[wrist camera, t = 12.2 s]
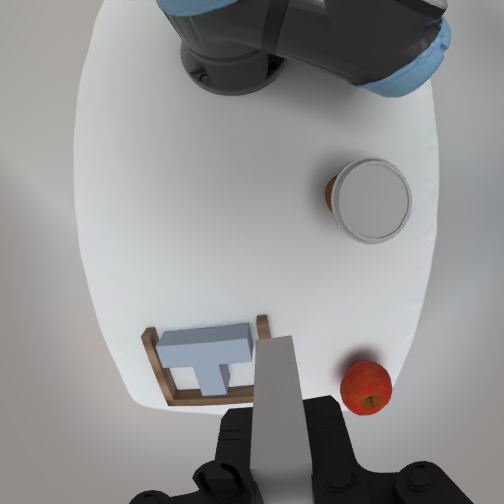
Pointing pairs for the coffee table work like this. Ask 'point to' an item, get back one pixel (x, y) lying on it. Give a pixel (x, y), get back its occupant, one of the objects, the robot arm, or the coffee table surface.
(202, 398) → the walnut fence
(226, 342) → the t block
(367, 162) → the disposable coffee cup
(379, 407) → the apple
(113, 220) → the coffee table surface
